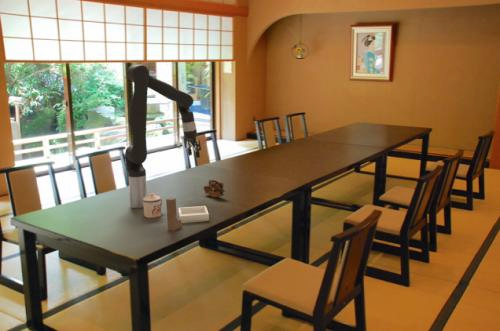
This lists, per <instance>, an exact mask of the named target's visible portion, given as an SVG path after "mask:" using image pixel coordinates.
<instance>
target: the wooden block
mask: <svg viewBox="0 0 500 331" xmlns="http://www.w3.org/2000/svg"><path fill="white" fill-rule="evenodd" d="M165 204H166V218H167V219H166V220H167V230H168V231H171V232H174V231H176V230H179V229H180V228H182V223H181V219H179V218H177V217H178V215H177V213H178V211H177V198H174V197H169V198H166V199H165Z"/></svg>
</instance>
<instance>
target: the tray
mask: <svg viewBox="0 0 500 331" xmlns="http://www.w3.org/2000/svg"><path fill="white" fill-rule="evenodd" d="M208 211H209V210H208V208H207V206H206V205H198V206H197V205H196V206H185V207H184V206H183V207H178V211H177V212H178V217H179V218H178V219H181V224H184V223H197V222H198V223H199V222H200V223H201V222H209V221H210V214H209V212H208Z"/></svg>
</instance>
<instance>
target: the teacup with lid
mask: <svg viewBox="0 0 500 331" xmlns="http://www.w3.org/2000/svg"><path fill="white" fill-rule="evenodd" d="M143 204H144V208H143V215H144V217H145V218H148V219H149V218H150V219H152V218H153V219H154V218H158V217H161V215H162V205H163V200H162V197H160V196H159V195H156V194H155V193H154V192H150V193H149V195H148V194H147V197H144V198H143Z"/></svg>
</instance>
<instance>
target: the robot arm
mask: <svg viewBox="0 0 500 331" xmlns="http://www.w3.org/2000/svg"><path fill="white" fill-rule="evenodd" d="M126 76H127V78H128V79H129V80H130V82H133V87H134V88H133V95H132V97H131V99H130V103H129V106H128V123H129V128H130V131H131V135H132V145H129V146H128V147H126V149H125V152H124V157H125V158H124V159H125V160H124V161H125V168H126V171H127V174H128V186H129V192H128V193H129V203H130V206H129V207H130V209H144V204H143V198H144V197H147V196H148V185H147V170H146V168H145V167H144V166H143V163H145V161H147V157H148V149H147V147H148V146H147V119H148V118H147V117H148V89H151V91H152V90H153V91H154V92H156V93H158V94H159V95H160V96H162V97H165V98H166V99H168V100H170V101H173V102H176V107H177V109H178V111H179V113H180V114H179V115H180V116H181V117H180V118H181V123H182V124H181V126H182V131H183V144H184V148H185V149H186V150H187V155H188V156H192V155H193V151H192V149H193V150H194V151H195V152H194V153H195V158H197V159H198V158H200V157H201V156H200V155H201V154H200V151H202V146H201V141H200V140H199V139H197V137H198V131H197V125H196V122H195V118H194V117H195V116H194V113H193V111H192V110H191V109H190V107H192V106H193V104H194V99H193V96H192V95H190V94H188V93H187V92H184V91H183V90H182V91H181V89H178V88H177V87H175V86H173V85H171V84H169V83H167V82H165V81H162V80H161V79H159V78H158V79H157V78H156V77H153V76H152V75H150V71H149V68H148V67H147V66H146V65H144V64H133V65H131V66H129V67H128V68H127V71H126Z"/></svg>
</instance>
